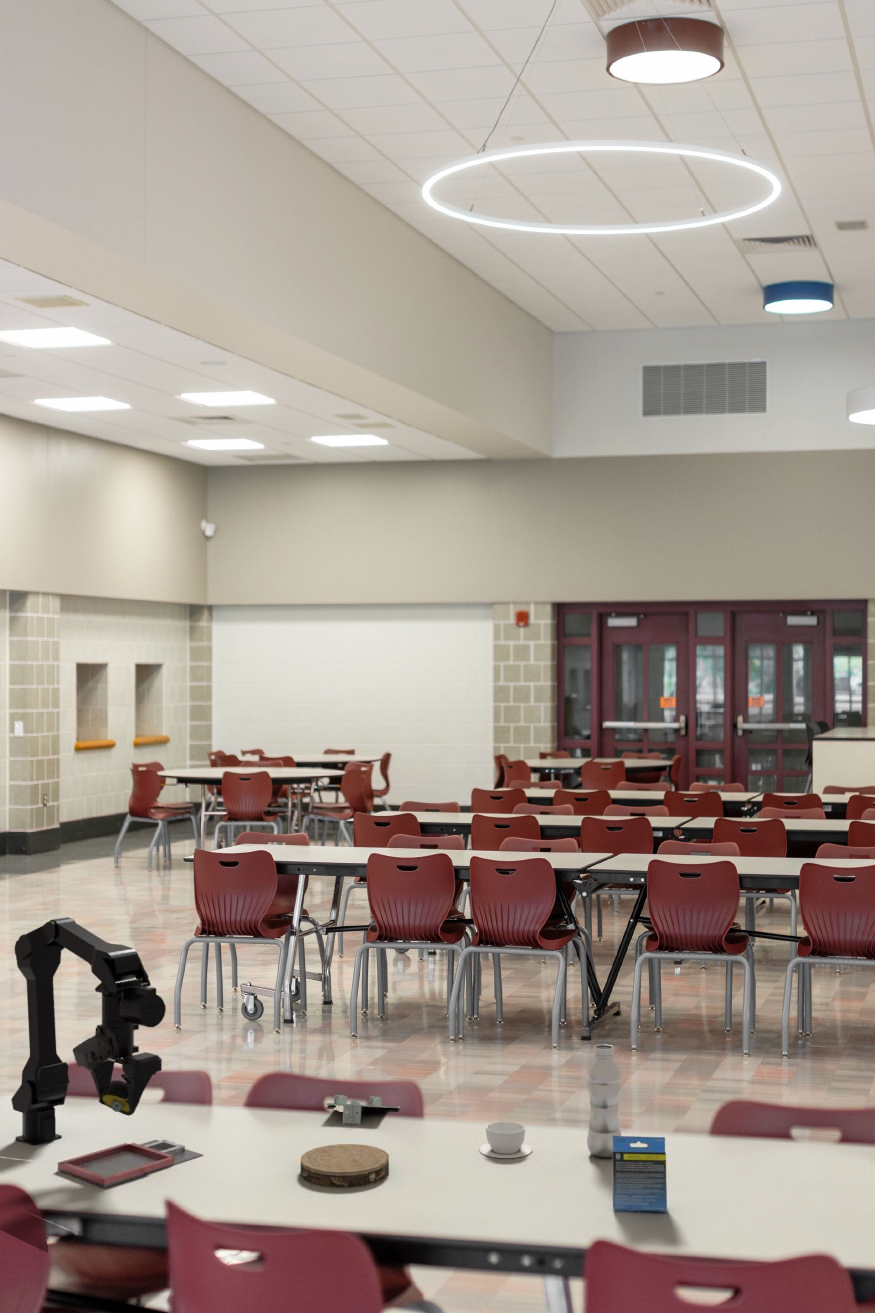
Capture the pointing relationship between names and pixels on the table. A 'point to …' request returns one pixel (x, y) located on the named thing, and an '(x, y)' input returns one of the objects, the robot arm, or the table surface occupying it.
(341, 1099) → the metal bracket
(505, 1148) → the teacup
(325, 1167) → the wood slice
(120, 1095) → the tape measure
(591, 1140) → the plastic bottle
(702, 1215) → the table surface
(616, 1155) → the label tape cartridge
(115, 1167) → the fitting plate
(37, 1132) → the robot arm
